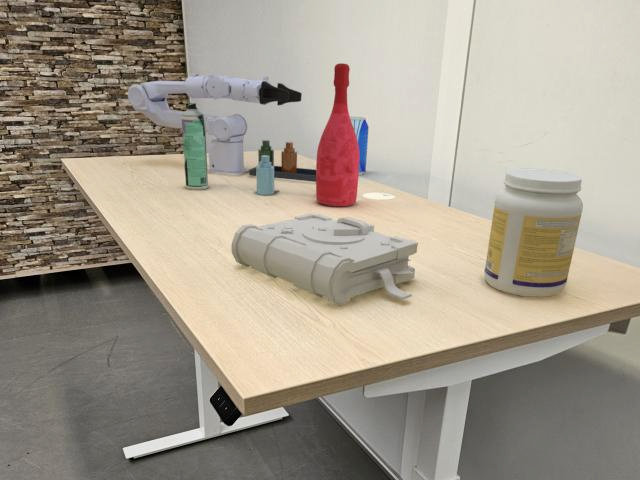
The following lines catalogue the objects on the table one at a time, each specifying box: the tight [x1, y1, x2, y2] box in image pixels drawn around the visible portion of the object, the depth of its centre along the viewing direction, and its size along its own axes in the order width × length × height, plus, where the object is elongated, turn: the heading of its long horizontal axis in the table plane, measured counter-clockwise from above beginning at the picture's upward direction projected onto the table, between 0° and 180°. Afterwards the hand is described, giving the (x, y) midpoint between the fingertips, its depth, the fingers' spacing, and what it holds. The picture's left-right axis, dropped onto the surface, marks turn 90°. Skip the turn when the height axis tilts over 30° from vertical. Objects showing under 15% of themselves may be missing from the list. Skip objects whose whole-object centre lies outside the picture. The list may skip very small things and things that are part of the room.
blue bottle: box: [255, 155, 275, 196], centre depth 141 cm, size 4×4×9 cm
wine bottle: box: [315, 62, 360, 208], centre depth 129 cm, size 10×10×30 cm
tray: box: [248, 165, 316, 183], centre depth 162 cm, size 21×9×2 cm, turn 72°
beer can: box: [349, 115, 369, 176], centre depth 166 cm, size 8×8×16 cm
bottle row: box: [257, 139, 298, 174], centre depth 161 cm, size 11×4×9 cm, turn 72°
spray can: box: [181, 102, 209, 191], centre depth 141 cm, size 6×6×20 cm
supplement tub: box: [483, 167, 584, 298], centre depth 86 cm, size 12×12×17 cm
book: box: [230, 212, 419, 307], centre depth 87 cm, size 19×28×8 cm
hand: (294, 96), depth 151 cm, fingers open, 7 cm apart
